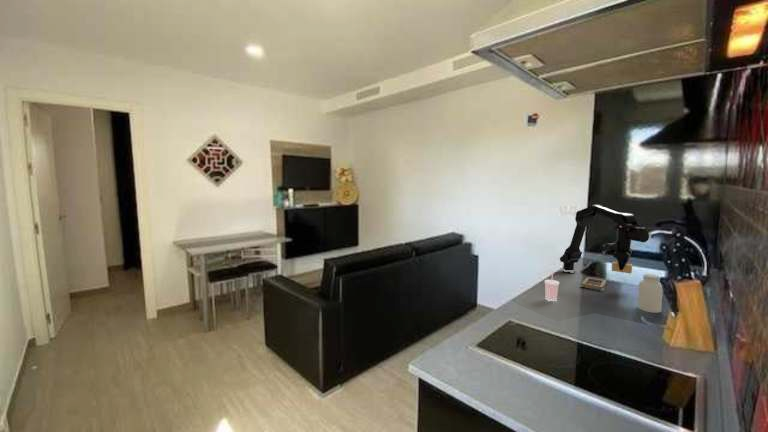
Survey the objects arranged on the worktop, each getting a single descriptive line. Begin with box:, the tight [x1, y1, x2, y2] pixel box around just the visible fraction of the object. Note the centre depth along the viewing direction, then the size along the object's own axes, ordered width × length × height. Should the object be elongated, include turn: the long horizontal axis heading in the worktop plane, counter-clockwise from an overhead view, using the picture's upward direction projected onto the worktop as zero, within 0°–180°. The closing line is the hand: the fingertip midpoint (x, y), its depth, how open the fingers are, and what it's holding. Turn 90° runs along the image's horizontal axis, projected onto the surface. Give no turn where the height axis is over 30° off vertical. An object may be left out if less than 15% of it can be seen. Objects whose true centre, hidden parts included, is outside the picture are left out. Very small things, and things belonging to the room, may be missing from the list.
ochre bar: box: [611, 261, 633, 275], centre depth 166 cm, size 8×4×4 cm, turn 49°
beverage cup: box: [544, 270, 560, 303], centre depth 152 cm, size 6×6×14 cm
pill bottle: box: [637, 273, 664, 314], centre depth 140 cm, size 8×8×15 cm
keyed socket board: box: [581, 277, 607, 292], centre depth 173 cm, size 16×10×2 cm, turn 139°
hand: (621, 269), depth 166 cm, fingers closed on ochre bar, 4 cm apart
